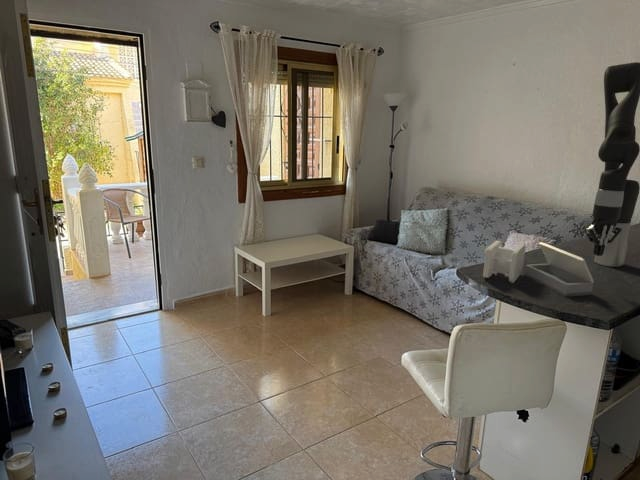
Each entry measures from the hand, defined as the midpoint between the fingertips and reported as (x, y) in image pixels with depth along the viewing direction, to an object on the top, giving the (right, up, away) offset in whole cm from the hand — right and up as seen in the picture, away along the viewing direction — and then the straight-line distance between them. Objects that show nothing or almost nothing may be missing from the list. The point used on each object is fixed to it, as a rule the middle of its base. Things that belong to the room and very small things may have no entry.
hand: (597, 255), depth 149 cm
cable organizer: (-28, -8, +11) cm, 31 cm away
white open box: (-12, -10, +4) cm, 16 cm away
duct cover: (-10, -2, +3) cm, 10 cm away
